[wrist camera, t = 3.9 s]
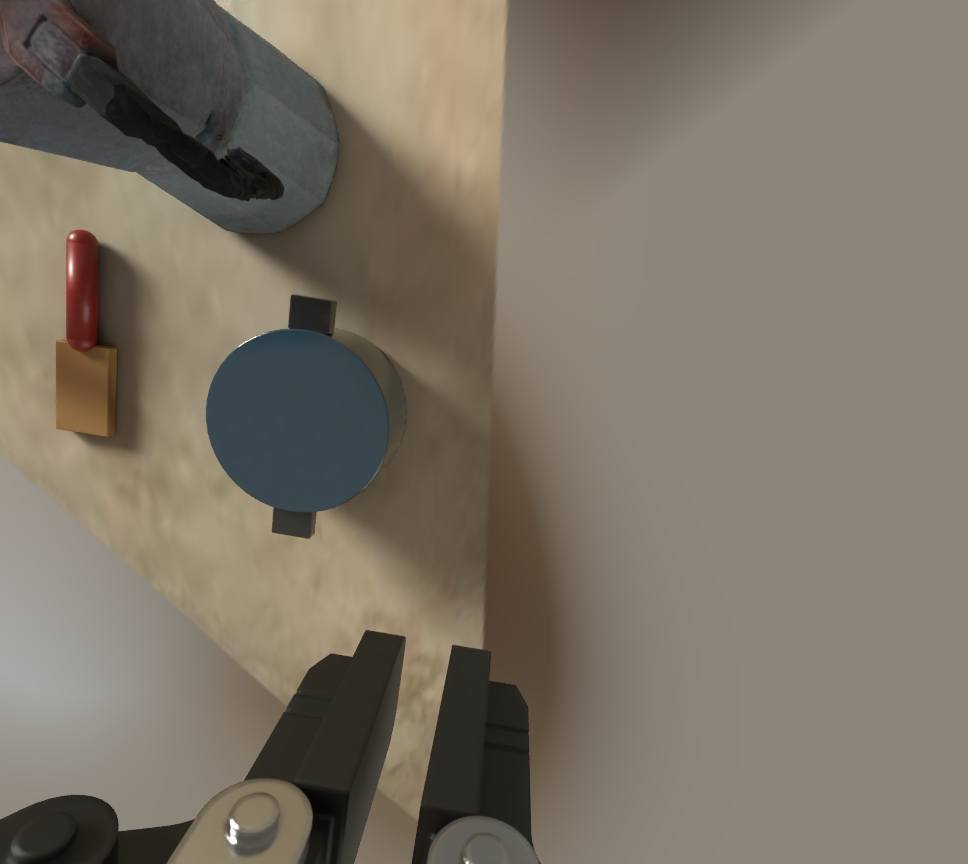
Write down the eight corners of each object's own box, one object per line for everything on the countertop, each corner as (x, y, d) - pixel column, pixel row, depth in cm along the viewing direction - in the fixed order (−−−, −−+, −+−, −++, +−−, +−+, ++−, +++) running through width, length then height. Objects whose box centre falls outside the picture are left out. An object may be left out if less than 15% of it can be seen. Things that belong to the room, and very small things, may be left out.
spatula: (115, 434, 33) (98, 439, 32) (65, 426, 33) (45, 431, 32) (119, 235, 31) (101, 232, 30) (65, 227, 31) (44, 223, 30)
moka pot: (185, -42, 28) (-566, -836, 9) (440, 162, 29) (286, -132, 10) (92, 131, 30) (-699, -202, 11) (335, 315, 31) (32, 324, 12)
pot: (240, 497, 34) (199, 525, 29) (255, 286, 31) (211, 282, 27) (393, 522, 34) (374, 554, 29) (420, 312, 31) (404, 312, 27)
